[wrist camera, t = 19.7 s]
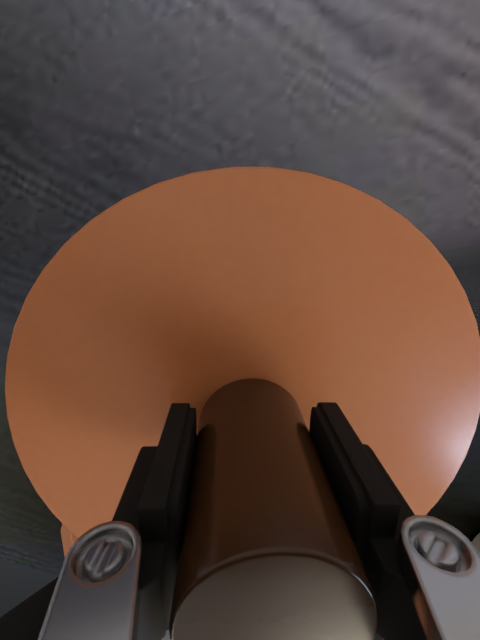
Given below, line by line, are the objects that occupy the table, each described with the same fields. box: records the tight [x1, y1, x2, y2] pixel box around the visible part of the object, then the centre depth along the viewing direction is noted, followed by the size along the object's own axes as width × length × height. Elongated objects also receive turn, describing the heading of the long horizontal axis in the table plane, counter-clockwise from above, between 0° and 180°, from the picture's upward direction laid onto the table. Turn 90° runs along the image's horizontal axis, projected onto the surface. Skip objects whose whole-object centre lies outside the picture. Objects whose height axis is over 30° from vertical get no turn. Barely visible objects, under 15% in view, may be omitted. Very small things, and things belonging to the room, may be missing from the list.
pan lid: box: [5, 167, 480, 640], centre depth 9 cm, size 17×17×7 cm
